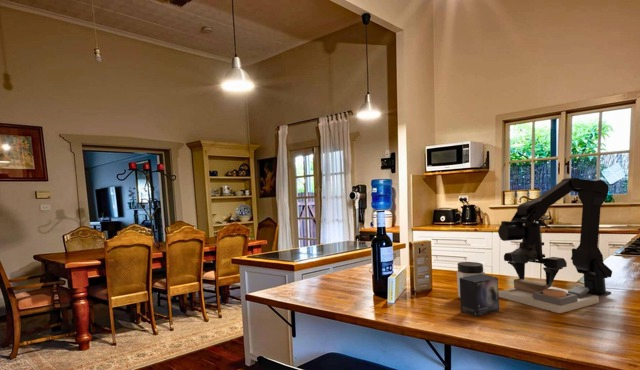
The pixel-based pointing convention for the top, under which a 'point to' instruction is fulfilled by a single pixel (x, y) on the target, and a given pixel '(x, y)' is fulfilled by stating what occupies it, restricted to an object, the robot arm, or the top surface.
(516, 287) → the slider bar
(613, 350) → the top surface
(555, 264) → the robot arm
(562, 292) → the push button
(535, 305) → the panel
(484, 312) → the small box
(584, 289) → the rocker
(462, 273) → the jar
